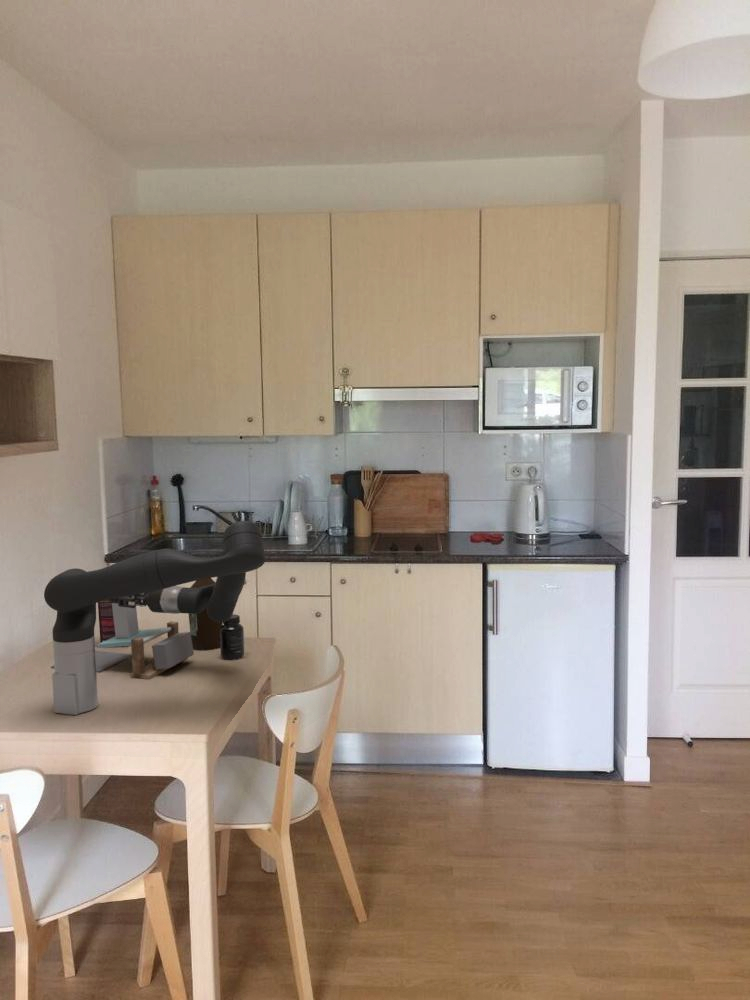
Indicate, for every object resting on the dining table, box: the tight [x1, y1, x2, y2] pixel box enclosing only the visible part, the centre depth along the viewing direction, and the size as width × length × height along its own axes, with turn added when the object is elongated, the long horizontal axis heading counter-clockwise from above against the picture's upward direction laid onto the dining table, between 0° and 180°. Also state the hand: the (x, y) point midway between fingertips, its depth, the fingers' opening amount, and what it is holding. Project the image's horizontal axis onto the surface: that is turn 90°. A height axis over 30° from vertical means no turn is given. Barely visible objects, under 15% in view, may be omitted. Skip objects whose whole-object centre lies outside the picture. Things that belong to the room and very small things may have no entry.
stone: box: [112, 596, 140, 638], centre depth 216 cm, size 4×4×14 cm
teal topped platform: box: [96, 627, 195, 669], centre depth 215 cm, size 21×14×8 cm, turn 73°
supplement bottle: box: [219, 613, 245, 661], centre depth 223 cm, size 7×7×12 cm
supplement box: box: [97, 599, 130, 648], centre depth 237 cm, size 9×5×16 cm, turn 94°
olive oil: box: [188, 578, 224, 651], centre depth 233 cm, size 11×11×25 cm
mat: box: [50, 650, 132, 673], centre depth 221 cm, size 16×16×1 cm
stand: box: [129, 621, 188, 680], centre depth 214 cm, size 6×19×10 cm, turn 163°
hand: (116, 596), depth 216 cm, fingers open, 5 cm apart
